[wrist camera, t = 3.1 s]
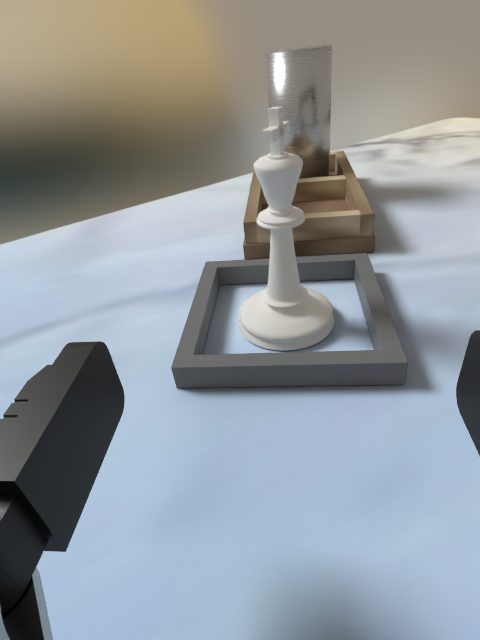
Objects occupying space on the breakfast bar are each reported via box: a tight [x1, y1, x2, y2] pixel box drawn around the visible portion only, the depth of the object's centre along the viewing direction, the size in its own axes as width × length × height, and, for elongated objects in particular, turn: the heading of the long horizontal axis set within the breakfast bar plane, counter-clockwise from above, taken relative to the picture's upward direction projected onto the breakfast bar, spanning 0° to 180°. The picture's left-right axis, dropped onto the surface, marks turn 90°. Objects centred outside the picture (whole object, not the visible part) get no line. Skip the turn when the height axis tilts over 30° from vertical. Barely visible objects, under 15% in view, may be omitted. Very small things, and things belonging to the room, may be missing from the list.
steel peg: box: [266, 44, 332, 179], centre depth 33 cm, size 5×5×10 cm
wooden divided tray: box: [243, 151, 375, 259], centre depth 33 cm, size 8×16×2 cm, turn 175°
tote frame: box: [171, 253, 408, 388], centre depth 21 cm, size 10×10×1 cm
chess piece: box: [239, 107, 334, 351], centre depth 18 cm, size 5×5×10 cm
